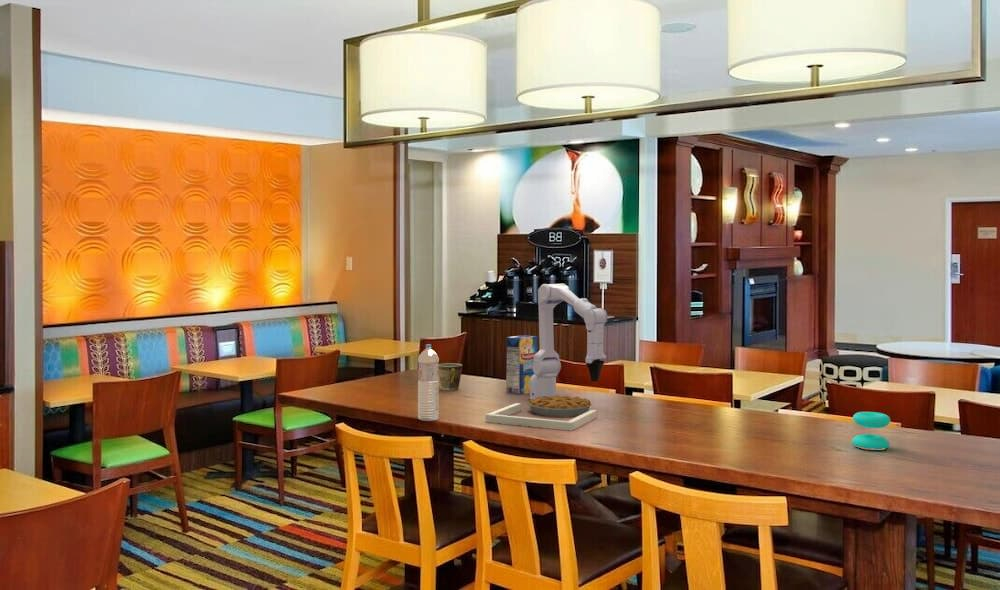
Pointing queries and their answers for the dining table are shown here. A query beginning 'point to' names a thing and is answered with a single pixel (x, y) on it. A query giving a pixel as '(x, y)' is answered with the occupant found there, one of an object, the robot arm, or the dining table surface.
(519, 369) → the beverage box
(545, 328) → the robot arm
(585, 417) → the serving corral
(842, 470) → the dining table surface
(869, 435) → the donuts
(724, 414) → the dining table surface
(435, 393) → the water bottle
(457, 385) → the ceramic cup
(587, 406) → the pie
